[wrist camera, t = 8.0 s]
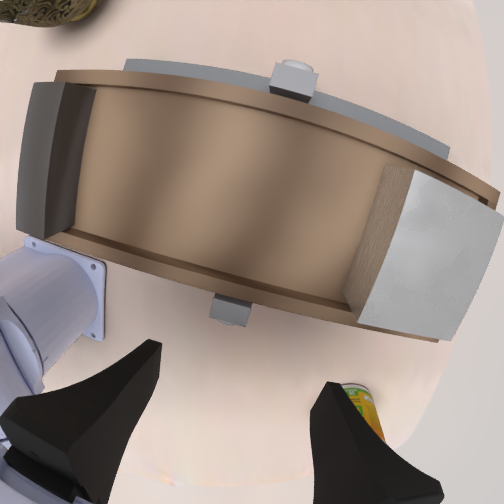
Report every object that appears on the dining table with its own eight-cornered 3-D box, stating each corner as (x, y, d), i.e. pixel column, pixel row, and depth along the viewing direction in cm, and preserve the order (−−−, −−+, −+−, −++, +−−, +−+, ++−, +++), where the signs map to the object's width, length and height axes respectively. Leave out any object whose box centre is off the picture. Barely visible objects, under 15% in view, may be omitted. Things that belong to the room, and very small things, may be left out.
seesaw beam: (53, 226, 17) (13, 244, 13) (77, 76, 14) (35, 64, 10) (424, 325, 18) (450, 361, 14) (479, 186, 14) (521, 198, 11)
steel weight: (341, 289, 16) (356, 322, 13) (384, 164, 14) (414, 169, 10) (425, 310, 16) (450, 341, 13) (468, 203, 14) (505, 216, 10)
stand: (98, 244, 22) (52, 271, 16) (133, 59, 17) (89, 35, 11) (379, 321, 22) (404, 368, 16) (443, 144, 17) (493, 146, 12)
